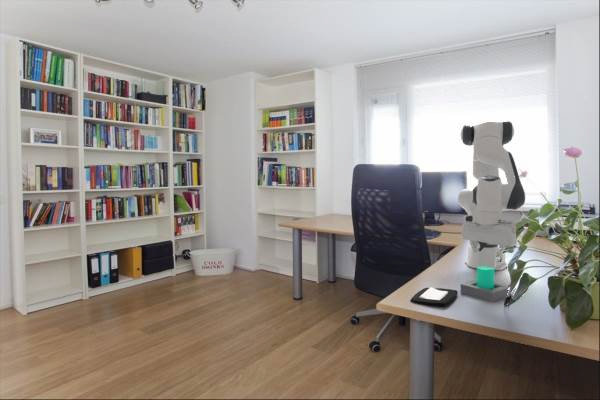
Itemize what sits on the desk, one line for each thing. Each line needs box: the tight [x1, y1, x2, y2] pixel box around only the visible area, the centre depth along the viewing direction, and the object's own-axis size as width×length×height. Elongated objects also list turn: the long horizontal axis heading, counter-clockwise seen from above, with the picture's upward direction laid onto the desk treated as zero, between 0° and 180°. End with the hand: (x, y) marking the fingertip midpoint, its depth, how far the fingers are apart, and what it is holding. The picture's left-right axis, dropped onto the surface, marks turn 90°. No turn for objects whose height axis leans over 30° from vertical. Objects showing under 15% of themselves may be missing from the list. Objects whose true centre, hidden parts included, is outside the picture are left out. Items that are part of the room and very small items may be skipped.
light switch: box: [409, 286, 459, 307], centre depth 143 cm, size 20×3×14 cm
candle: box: [476, 266, 496, 290], centre depth 146 cm, size 6×6×12 cm
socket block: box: [459, 279, 509, 303], centre depth 147 cm, size 13×13×4 cm
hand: (487, 254), depth 146 cm, fingers open, 8 cm apart
